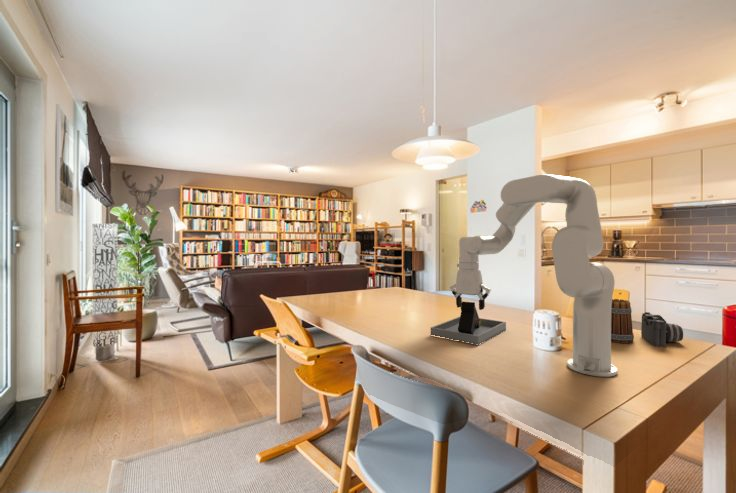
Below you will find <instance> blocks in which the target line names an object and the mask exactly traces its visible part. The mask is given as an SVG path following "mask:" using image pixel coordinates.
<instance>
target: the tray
mask: <svg viewBox="0 0 736 493" xmlns="http://www.w3.org/2000/svg"><path fill="white" fill-rule="evenodd" d="M479 319H480V325H479V327H474V333H473V335H471V334H466V333H460V332H459V331H458V326H459V321H460V316H458V317H455V318H452V319H450V320H446V321H445V322H442V323H439V324H436V325H433V326H432V327H430V336H431V335H435V336H440V337H445V338H449V339H453V340H459V341H464V342H469V343H473V344H480V343H482V342H484V341H486V340H488V339H490V338H491V339H493V338H495V337H496V335H497V336H499V335H500V334H502V333H504V332H505V331H507V322H506V321H501V320H494V319H486V318H480V317H479ZM503 331H504V332H503ZM501 332H502V333H501ZM494 336H495V337H494ZM492 337H493V338H492ZM491 339H490V340H491ZM488 341H489V340H488ZM486 342H487V341H486ZM484 343H485V342H484Z"/></svg>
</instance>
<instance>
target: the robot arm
mask: <svg viewBox="0 0 736 493" xmlns="http://www.w3.org/2000/svg"><path fill="white" fill-rule="evenodd" d="M500 200H501V201H502V202H503V203H502V204H501V206H500V207H499V208H498V209H497V210H496V212H495V218H496V219H497V221H498V222H499V223H500V225H499V227H498V228H497V229H496V231H495V232H494V233H493V234H492V235H489V234H488V235H476V236H465V237H464V236H463V237H460V238H459V241H458V245H459V248H458V250H459V253H458V254H459V263H456V267H457V268H459V269H458V270H457V272H456V279H455V280H456V282H455V284H453V285H451V286H450V287H449V288H450V291H451V294H453V296H454V297H455V304H456V308H461V306H462V302H463V300H462V295H465V296H466V295H467V296H477V297H478V298H479V300H478V310H480V311H482V310H484V309H485V306H486V303H485V300H486V299H487V298H488V297H489V296H490V293H491V291H492V289H491V288H489V287H488V286H487V285H484V284H483V283H484V282H483V276H482V272H481V270H480V269H479V268H480V267H479V264H480V263H479V256H481V255H482V256H484V255H497V254H499V253H501V252H502V251H503V250H504V249H505V248H506V247H507V246H508V245H509V244H510V242H512V240H513V238H514V236H515V234H516V226H517V225H518V224H519V223H520V222H521V221H522V220H523V218H524V217H525V216H526V215H527V214H528V213H529V212H530V211H531V210H532V209H533V207H534V206H535V205H536V204H537V203H551V204H565V205H566V208H565V213H564V214H565V223H566V226H564V227H561V228H560V229H559V230H557V232H556V233H555V234H554V235H553V238H552V241H551V242H552V243H551V252H552V258H553V264H554V272H555V273H554V274H555V277H556V278H555V279H556V283H557V286H558V288H559V290H560V291H561V292H562V293H563V294H565V295H566V296H568V297H569V298H574V299H573V303H572V305H573V306H572V358H569V359H567V361H566V365H567V367H568V368H569V369H570V370H572V371H574V372H577V373H580V374H584V375H588V376H593V377H600V378H601V377H603V378H605V377H606V378H607V377H608V378H609V377H610V378H611V377H614V376H616V375H618V374H619V370H618V368H617V367H616V366H615V365H614V364H612V342H611V306H612V299H613V296H614V290H615V277H614V273H613V272H612V271H611V269H610V268H609V267H608V266H606V265H605V264H603V263H600V262H591V261H590V258H594V257H597V256H598V255H600V254H601V253H602V252H603V250H604V236H603V231H602V225H601V219H600V215H599V209H598V200H597V194H596V191H595V189H594V187H593V186H592V184H590V183H589V182H587V181H586V180H583V179H582V178H577V177H571V176H566V175H565V176H564V175H556V174H550V173H548V174H547V173H546V174H545V173H544V174H538V175H533V176H528V177H522V178H516V179H512V180H510V181H508V182H507V183H505V184H504V185H503V186H502V189H501V191H500ZM484 291H485V293H483V292H484Z"/></svg>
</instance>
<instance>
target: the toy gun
mask: <svg viewBox="0 0 736 493" xmlns="http://www.w3.org/2000/svg"><path fill="white" fill-rule="evenodd" d="M459 317H460V321H459V326H458V331H459V332H460V333H466V334H471V335H473V333H474V327H479V325H480V319H479V318H480V317H479V314H478V311H477V308H476V302H474V301H473V302H472V301H462V306H461V307H460V316H459Z"/></svg>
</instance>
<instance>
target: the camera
mask: <svg viewBox="0 0 736 493" xmlns="http://www.w3.org/2000/svg"><path fill="white" fill-rule="evenodd" d="M640 326H641V329H640V330H641V332H640V334H641V338H643V339H644V340H646V341H647V342H648V343H650V344H651V345H652V346H655V347H658V348H659V347H660V348H666V342H667V343H677V342H678V343H679V342H681V341H682V340H683V339H684V330H683V328H682V327H681V326H680V325H678V324H676V323H669V322H667V320H666V319H664V318H663V317H662V315H660V314H652V313H651V312H649V311H645V312H643V313H642V314H641V325H640Z"/></svg>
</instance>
